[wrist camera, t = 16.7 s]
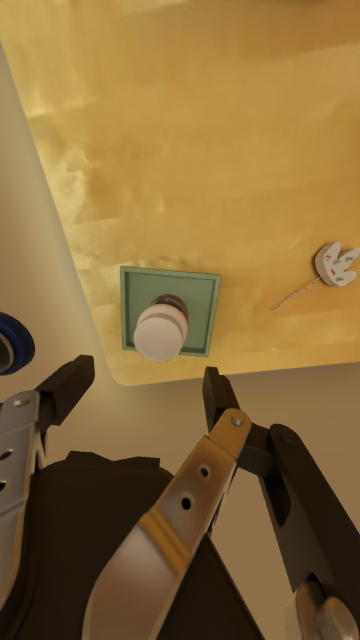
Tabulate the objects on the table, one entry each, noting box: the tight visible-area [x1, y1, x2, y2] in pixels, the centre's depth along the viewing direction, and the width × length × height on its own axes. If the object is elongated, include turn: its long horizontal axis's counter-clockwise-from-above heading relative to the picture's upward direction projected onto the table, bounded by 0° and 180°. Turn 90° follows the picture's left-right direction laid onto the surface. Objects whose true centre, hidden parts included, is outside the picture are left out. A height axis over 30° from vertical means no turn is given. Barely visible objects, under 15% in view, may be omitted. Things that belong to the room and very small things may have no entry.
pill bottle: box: [134, 294, 188, 362], centre depth 20 cm, size 6×6×10 cm
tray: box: [120, 266, 221, 357], centre depth 25 cm, size 13×12×2 cm
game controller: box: [272, 242, 360, 310], centre depth 22 cm, size 6×12×3 cm, turn 150°
